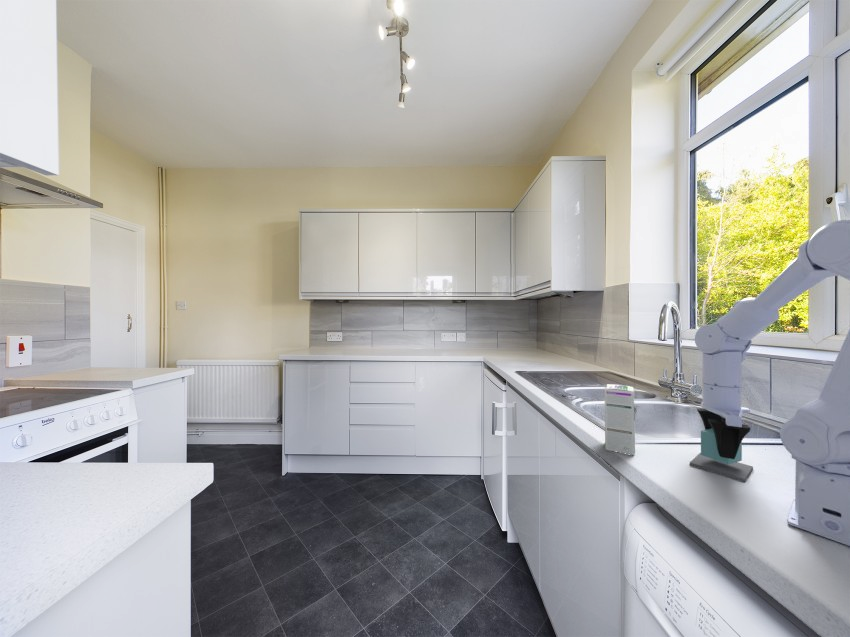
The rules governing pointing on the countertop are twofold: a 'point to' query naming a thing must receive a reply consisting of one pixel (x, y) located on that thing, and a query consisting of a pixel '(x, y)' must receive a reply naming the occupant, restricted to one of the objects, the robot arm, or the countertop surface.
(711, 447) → the teal block
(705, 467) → the mat
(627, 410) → the syrup box
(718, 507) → the countertop surface
